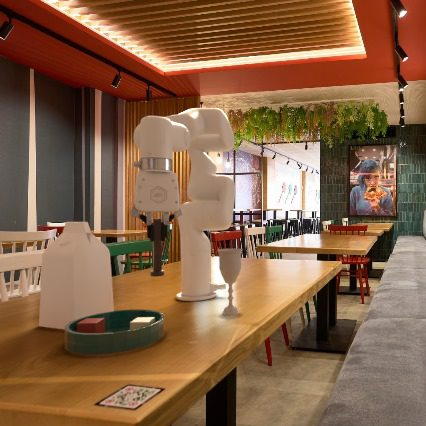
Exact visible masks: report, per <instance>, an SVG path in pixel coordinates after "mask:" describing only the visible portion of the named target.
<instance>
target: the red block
mask: <svg viewBox="0 0 426 426" xmlns="http://www.w3.org/2000/svg"><path fill="white" fill-rule="evenodd" d="M77 332H78V333H105V318H87V319H85V320H83V321H81V322H79V323H77Z"/></svg>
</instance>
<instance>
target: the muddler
mask: <svg viewBox="0 0 426 426" xmlns="http://www.w3.org/2000/svg"><path fill="white" fill-rule="evenodd" d="M152 223H153V226H154V241H153V242H152V270H150V273H149V274H150V275H149V276H150V277H151V278H152V277H163V276H165V269H163V259H162V258H163V254H162V253H163V252H162V251H163V249H162V248H163V247H162V246H163V241H161V226H162V218H152Z"/></svg>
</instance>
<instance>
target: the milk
mask: <svg viewBox="0 0 426 426" xmlns="http://www.w3.org/2000/svg"><path fill="white" fill-rule="evenodd" d="M111 262H112V261H111V252H110V249H109V247H107V245H106V244H105V243H104V242H102V241H101V240H100V239H99V238H98V237H97V236H95V234H93V233H92V231H91V228H90V225H89V222H88V221H66V222H65V223H64V226H63V229H62V233H61V234H59V235H58V236H57V237H56V238H55V239H54V240H53V241H52V242H51V243H50V244H49V245H48V246H47V247H46V248H45V250H44V251H43V253H42V256H41V270H40V271H41V273H40V291H39V292H40V294H39V296H40V297H39V313H38V314H39V318H38V319H39V320H38V327H44V328H51V329H57V330H64V328H65V326H66V325H67V324H68V323H69V322H71V321H74V320H76V319H79V318H82V317H85V316H89V315H93V314H98V313H104V312H109V311H115V305H114V302H115V301H114V292H113V275H112V264H111Z"/></svg>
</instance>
